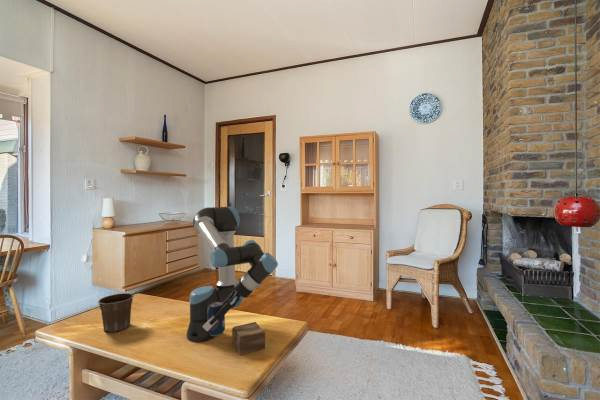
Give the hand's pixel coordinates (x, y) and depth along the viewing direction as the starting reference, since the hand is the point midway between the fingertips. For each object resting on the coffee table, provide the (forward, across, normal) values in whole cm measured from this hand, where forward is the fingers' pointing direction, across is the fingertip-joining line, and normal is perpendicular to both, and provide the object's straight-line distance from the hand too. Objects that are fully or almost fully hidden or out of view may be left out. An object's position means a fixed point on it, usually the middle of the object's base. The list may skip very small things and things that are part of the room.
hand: (207, 324), depth 123 cm
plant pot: (+55, +40, +28) cm, 73 cm away
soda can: (0, 0, -5) cm, 5 cm away
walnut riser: (+2, +16, -23) cm, 28 cm away
